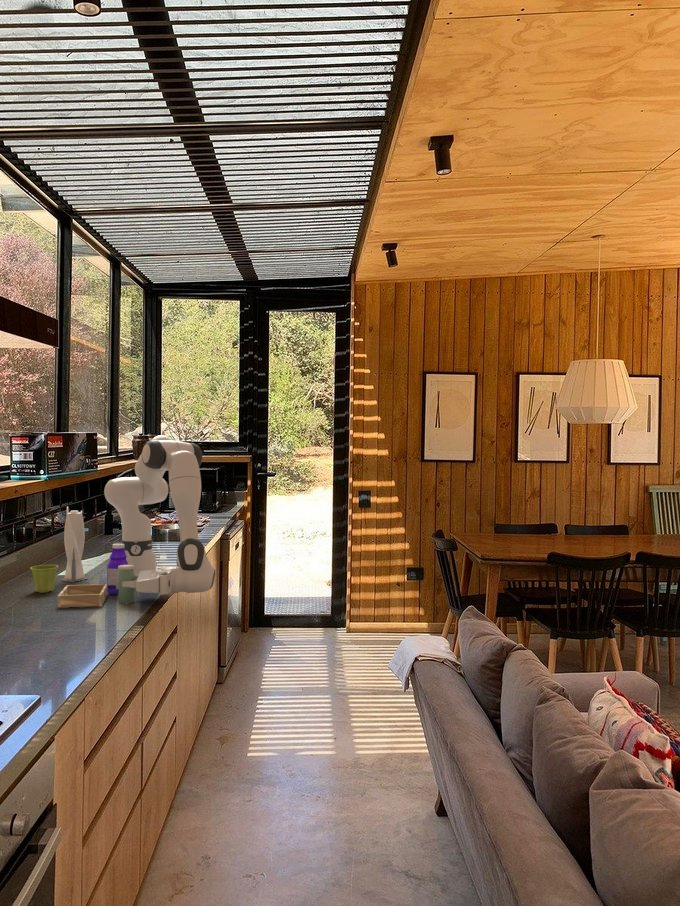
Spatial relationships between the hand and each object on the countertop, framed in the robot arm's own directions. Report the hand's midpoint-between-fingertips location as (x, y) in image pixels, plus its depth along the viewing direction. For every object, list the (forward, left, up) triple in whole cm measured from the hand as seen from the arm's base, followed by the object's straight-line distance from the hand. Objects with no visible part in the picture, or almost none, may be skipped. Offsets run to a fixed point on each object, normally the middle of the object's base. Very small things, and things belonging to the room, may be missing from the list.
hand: (123, 581), depth 260 cm
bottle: (-15, -3, -7) cm, 17 cm away
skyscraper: (-44, -22, -7) cm, 50 cm away
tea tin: (0, +1, -7) cm, 7 cm away
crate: (-3, -13, -7) cm, 15 cm away
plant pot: (-23, -29, -7) cm, 38 cm away
